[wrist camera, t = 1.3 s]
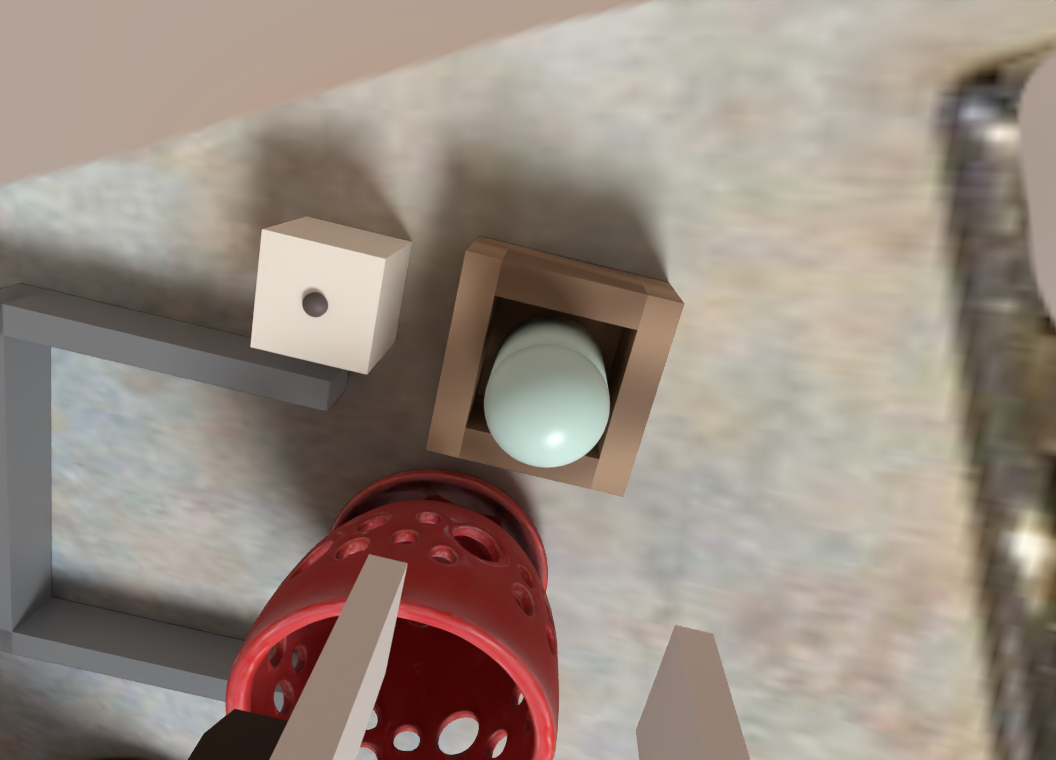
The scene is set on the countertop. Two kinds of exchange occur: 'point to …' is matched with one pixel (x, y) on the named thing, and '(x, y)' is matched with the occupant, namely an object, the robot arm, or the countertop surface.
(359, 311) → the cream cube with hole
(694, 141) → the countertop surface
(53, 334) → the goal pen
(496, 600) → the plant pot
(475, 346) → the button box
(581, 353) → the dome button
